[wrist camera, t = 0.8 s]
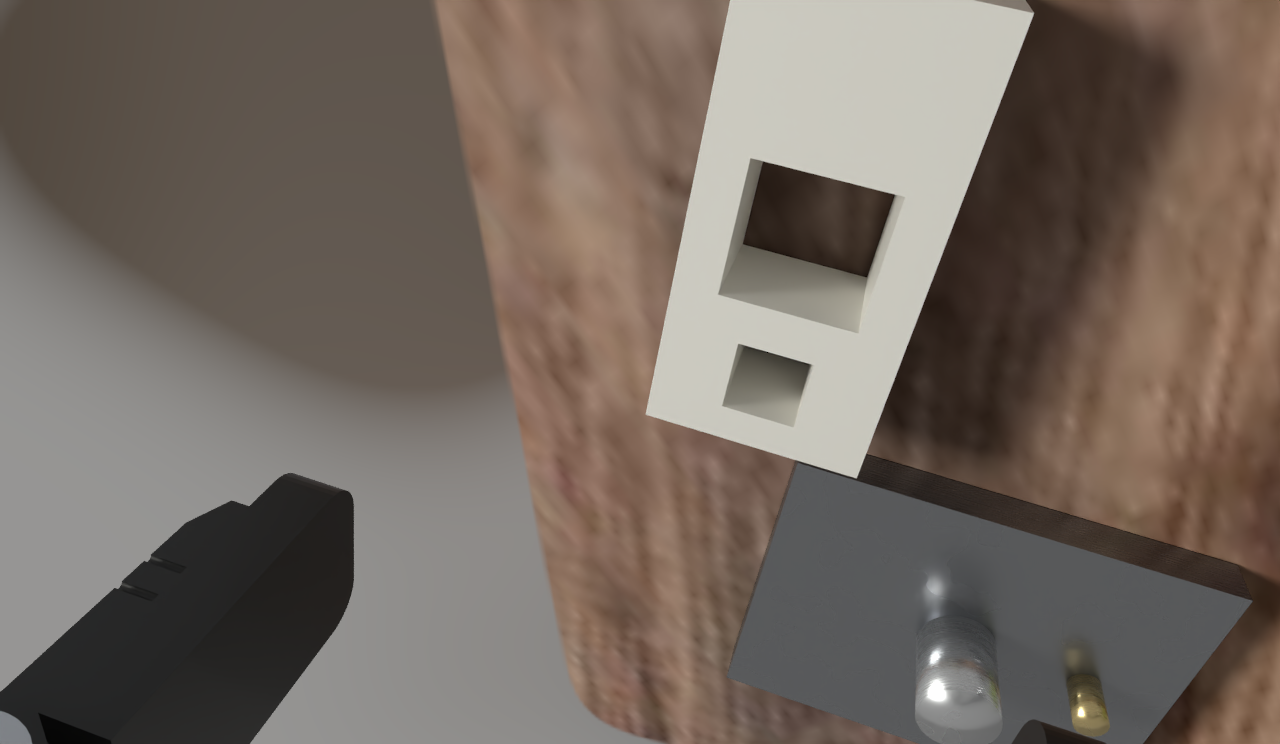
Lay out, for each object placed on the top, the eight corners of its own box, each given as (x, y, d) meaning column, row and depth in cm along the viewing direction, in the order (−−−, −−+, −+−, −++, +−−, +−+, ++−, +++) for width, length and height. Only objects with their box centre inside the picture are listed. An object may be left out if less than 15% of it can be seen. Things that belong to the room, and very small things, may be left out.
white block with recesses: (766, -64, 21) (740, -51, 18) (1019, -9, 20) (1034, 13, 17) (675, 356, 28) (646, 414, 25) (864, 410, 27) (856, 478, 24)
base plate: (1237, 564, 26) (1288, 684, 22) (1089, 766, 31) (1110, 890, 27) (803, 435, 28) (784, 525, 24) (734, 646, 33) (709, 746, 29)
